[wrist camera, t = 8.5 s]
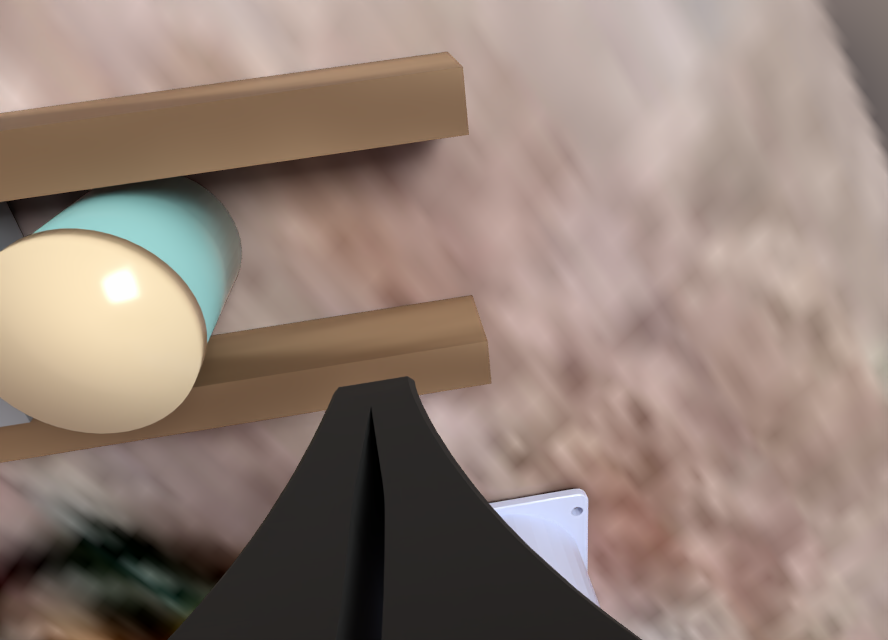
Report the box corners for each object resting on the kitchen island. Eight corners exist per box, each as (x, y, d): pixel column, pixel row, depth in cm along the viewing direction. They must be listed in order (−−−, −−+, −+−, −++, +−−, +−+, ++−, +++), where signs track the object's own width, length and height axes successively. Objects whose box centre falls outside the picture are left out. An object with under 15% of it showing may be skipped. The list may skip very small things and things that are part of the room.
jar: (265, 300, 20) (229, 412, 15) (115, 328, 20) (27, 450, 15) (214, 150, 18) (149, 221, 13) (43, 182, 18) (-94, 267, 12)
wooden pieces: (476, 334, 22) (491, 383, 19) (-85, 422, 21) (-147, 486, 19) (447, 51, 17) (462, 66, 15) (-279, 151, 16) (-399, 186, 14)
